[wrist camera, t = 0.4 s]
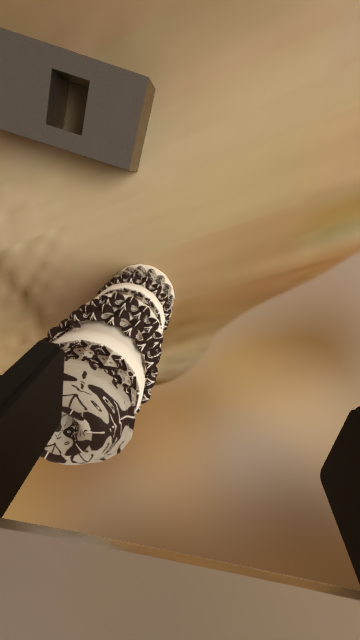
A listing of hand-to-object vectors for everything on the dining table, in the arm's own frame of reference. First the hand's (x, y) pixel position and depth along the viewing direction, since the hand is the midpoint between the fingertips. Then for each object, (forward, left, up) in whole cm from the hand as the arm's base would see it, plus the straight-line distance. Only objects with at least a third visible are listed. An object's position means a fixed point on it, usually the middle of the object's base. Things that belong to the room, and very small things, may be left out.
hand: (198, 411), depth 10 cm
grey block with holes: (-9, -22, -31) cm, 39 cm away
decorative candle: (+9, -6, -31) cm, 32 cm away
